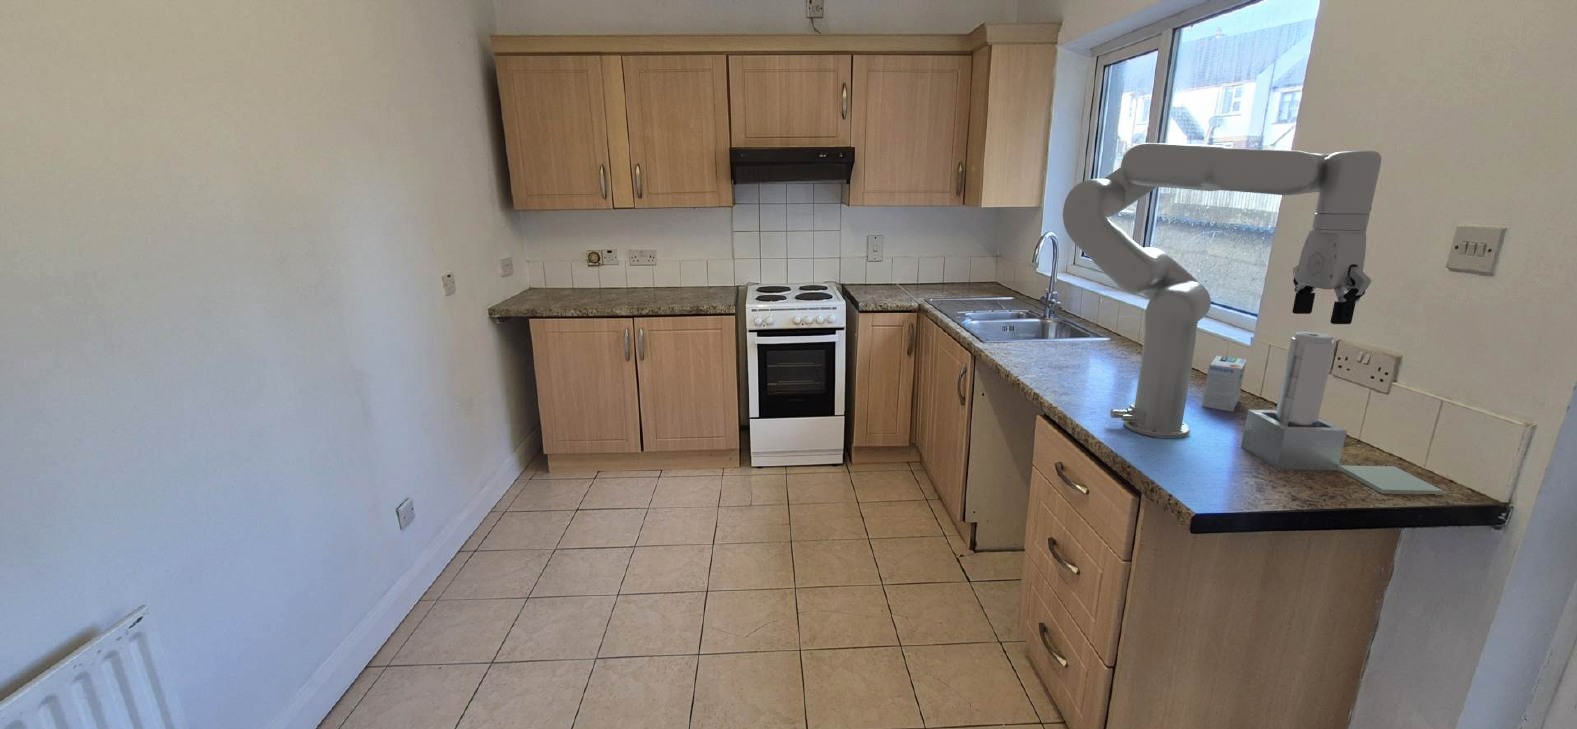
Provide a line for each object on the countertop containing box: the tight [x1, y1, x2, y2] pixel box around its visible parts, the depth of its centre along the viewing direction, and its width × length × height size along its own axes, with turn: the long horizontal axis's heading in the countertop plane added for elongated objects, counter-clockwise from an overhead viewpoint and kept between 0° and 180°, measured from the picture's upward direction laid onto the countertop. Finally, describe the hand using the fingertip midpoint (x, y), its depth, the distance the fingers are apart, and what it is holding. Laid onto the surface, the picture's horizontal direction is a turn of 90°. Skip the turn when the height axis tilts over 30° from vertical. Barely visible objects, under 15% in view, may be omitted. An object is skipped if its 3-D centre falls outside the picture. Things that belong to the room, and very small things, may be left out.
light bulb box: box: [1201, 355, 1248, 413], centre depth 158 cm, size 11×7×11 cm, turn 141°
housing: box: [1240, 409, 1348, 471], centre depth 127 cm, size 11×11×8 cm
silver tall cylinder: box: [1274, 331, 1336, 427], centre depth 125 cm, size 6×6×25 cm
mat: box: [1337, 464, 1444, 496], centre depth 118 cm, size 10×10×1 cm
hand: (1320, 318), depth 120 cm, fingers open, 9 cm apart
